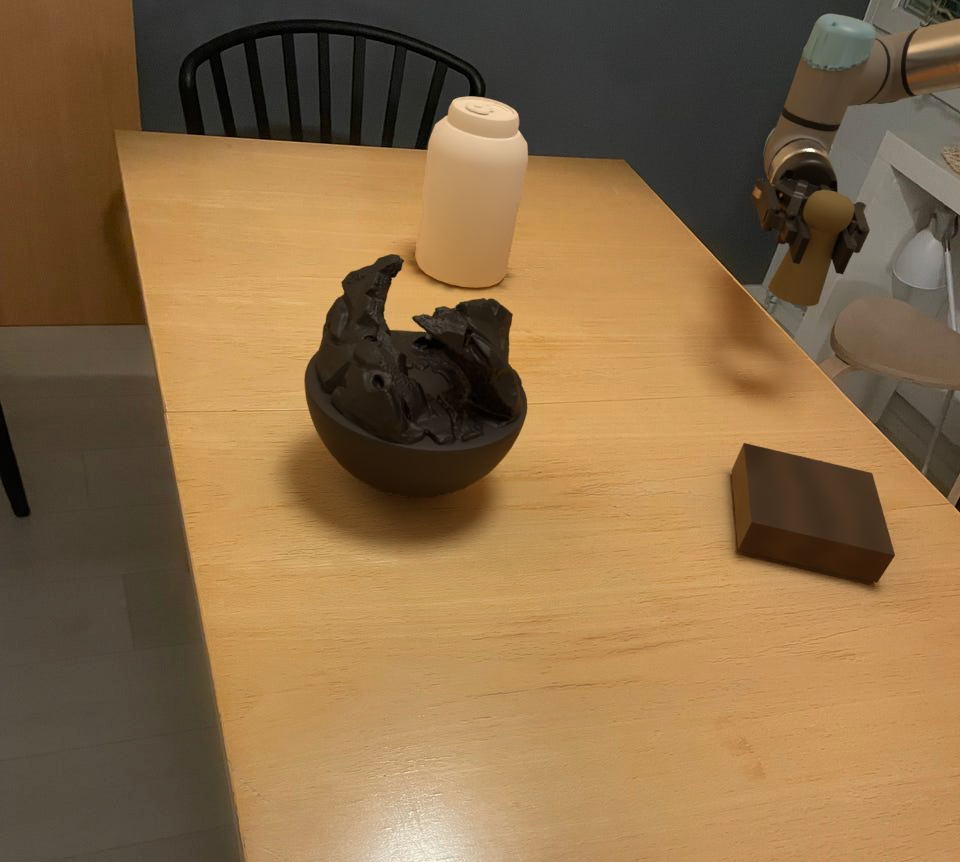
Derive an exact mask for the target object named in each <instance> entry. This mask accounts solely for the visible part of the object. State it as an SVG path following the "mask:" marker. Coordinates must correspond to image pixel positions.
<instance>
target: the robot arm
mask: <svg viewBox="0 0 960 862" xmlns="http://www.w3.org/2000/svg"><path fill="white" fill-rule="evenodd" d="M956 89H960V18H955V19H952V20H948V21H942V22H940V23H935V24H931V25H927V26H923V27H919V28H913V29H909V30H904V31H900V32H896V33H892V34H888V35H880V36H877V31H876V28H875V27H874V26H873V25H872V24H871V23H868V22H867V21H864V20H862V19H858V18H855V17H853V16H846V15H843V14H837V13H826V14H823V15H821V16H820V17H819V18H817V20H816V21H815V23H814V26H813V28H812V30H811V33H810V35H809V37H808V39H807V42H806V44H805V46H804V47H803V49H802V54H801V57H800V59H799V62H798V66H797V69H796V71H795V74H794V77H793V80H792V83H791V85H790V89H789V91H788V93H787V96H786V100H785V102H784V105H783V108H782V111H781V112H780V115H779V118H778V121H777V123H776V125H775V127H773V129H772V130H771V131H770V133H769V134H768V136H767V138H766V140H765V143H764V146H763V147H764V148H763V152H762V159H763V161H762V163H763V169H764V172H765V174H766V178H767V179H766V178H763V177H758V178H757V179H756V182H755V184H754V187H753V190H752V193H751V196H750V199H749V201H750V202H751V204H752V205H754V206H755V207H756V211H757V215H758V218H759V223H760V227H761V229H762V230H763V231H765V232H768V233H769V232H773V229H774V230H776V231H778V232H777V235H776V237H775V239H774V241H775V242H776V243H777V244H780V245H786V244H788V247H789V248H790V253H791V257H792V262H793V263H796V264H800V262H801V260H802V257H803V255H804V252H805V250H806V248H807V245H808V243H809V241H810V236H809V233H808V229H807V225H806V222H805V221H804V217H803V211H804V207H805V204H806V202H807V200H808V199H809V197H810V196H811V195H812V194H813V193H814V192H816V191H820V190H829V191H834V192H837V193H839V185H838V184H839V183H838V178H837V175H836V171H835V169H834V166H833V164H832V162H831V158H830V157H829V153H830V150H831V148H832V146H833V143H834V141H835V138H836V136H837V133H838V131H839V129H840V127H841V124H842V122H843V119H844V116H845V114H846V112H847V110H848V108H849V107H852V106H862V105H875V104H877V105H885V104H892V103H896V102H899V101H900V100H904V99H909V98H914V97H917V96H923V95H929V94H934V93H940V92H945V91H952V90H956ZM853 204H854V214H853V218H852V220H851V222H850V224H849V225H848V226H847V228H846V229H844V230H843V231H841V232H840V234H839V238H838V241H837V244H836V247H835V249H834V252H833V255H832V257H831V258H832V260H831V262H832V265H833V267H834V270H835V274H839V275H844V273H845V272H846V269H847V267H848V265H849V263H850V260H851V258H852V256H853V254H859V253H861V250H862V248H863V246H864V245H865V242H866V240H867V238H868V236H869V233H870V231H871V229H870V227H869V223H868V220H867V217H866V214H865V209H866V208H867V204H865V203H864V202H863V201H857V202H855V203H854V202H853ZM789 248H788V249H789Z"/></svg>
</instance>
